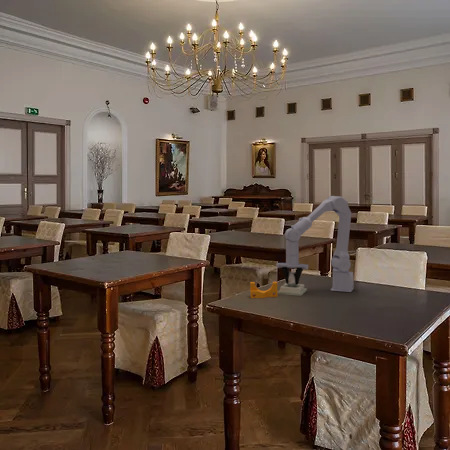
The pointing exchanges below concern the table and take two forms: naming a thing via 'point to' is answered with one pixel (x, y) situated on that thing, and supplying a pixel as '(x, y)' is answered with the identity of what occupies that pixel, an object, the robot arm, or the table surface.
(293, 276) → the grey cylinder
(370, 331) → the table surface
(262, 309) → the table surface
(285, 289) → the socket
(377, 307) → the table surface
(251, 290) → the pipe clamp
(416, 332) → the table surface
